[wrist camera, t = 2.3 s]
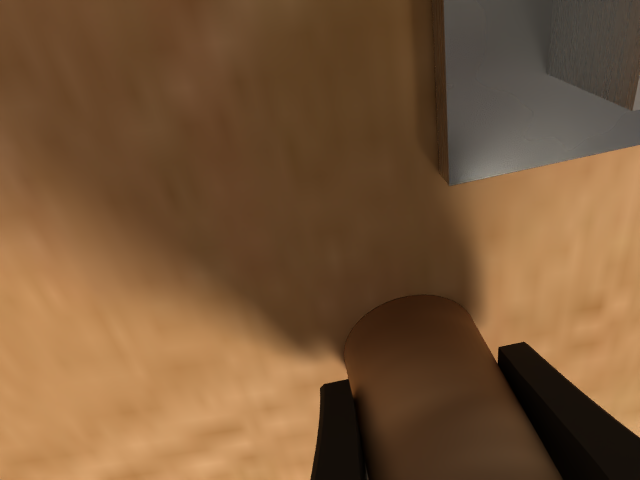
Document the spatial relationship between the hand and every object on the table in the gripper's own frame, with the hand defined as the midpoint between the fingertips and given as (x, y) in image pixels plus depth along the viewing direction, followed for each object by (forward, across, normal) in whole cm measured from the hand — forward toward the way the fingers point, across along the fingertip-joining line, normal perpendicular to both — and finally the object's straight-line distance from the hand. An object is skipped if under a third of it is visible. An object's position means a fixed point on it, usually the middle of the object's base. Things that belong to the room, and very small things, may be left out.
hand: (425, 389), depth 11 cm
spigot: (+1, 0, 0) cm, 1 cm away
